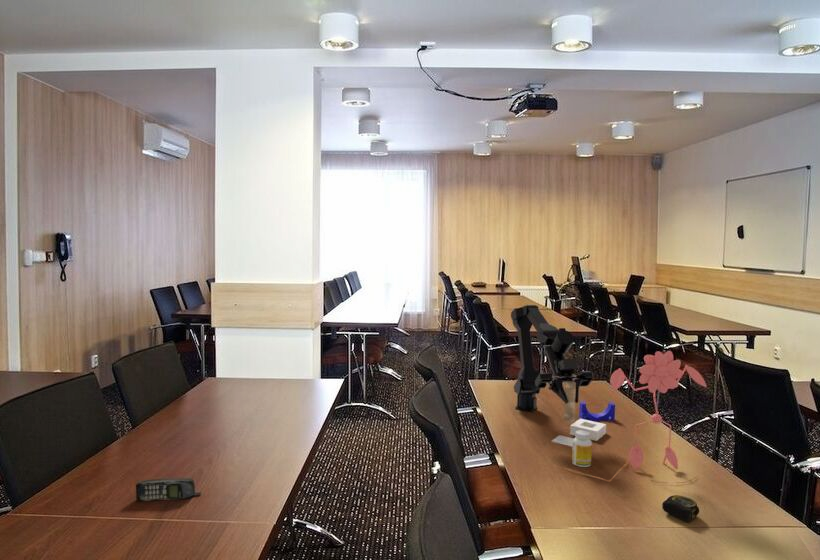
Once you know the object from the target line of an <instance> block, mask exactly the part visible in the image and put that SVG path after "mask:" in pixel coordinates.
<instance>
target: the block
mask: <svg viewBox="0 0 820 560" xmlns="http://www.w3.org/2000/svg"><path fill="white" fill-rule="evenodd" d="M578 430H584V431H588V432H589V433H590V438H589V439H590V440H591V441H596V442H597V441H598V440H600V439H601V438H602V437H603V436H605V435H606V433H607V424H606V423H602V422H599V421H589V420H585V419H580V418H579V419H577V420H575V421H574V422H573V423H572V424H571V425H570V426H569V431H570V432H569V434H570V436H574V437H576V436H575V435H576V431H578Z"/></svg>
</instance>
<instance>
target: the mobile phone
mask: <svg viewBox="0 0 820 560" xmlns="http://www.w3.org/2000/svg"><path fill="white" fill-rule="evenodd" d="M195 485H196V484H195V481H194V480H193V479H192V478H190V477H189V478H188V477H186V478H185V477H173V478H155V479H153V478H152V479H146V480H141V481H139V482H137V483H136V484H135V499H136V501H137V502H152V501H178V500H184V499H187V498H191V497H192V496H201V495H202V492H201V491H200V492H196V491H195V489H196V488H195V487H196V486H195Z"/></svg>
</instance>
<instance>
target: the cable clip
mask: <svg viewBox="0 0 820 560" xmlns="http://www.w3.org/2000/svg"><path fill="white" fill-rule="evenodd" d="M578 413H579V415H578V416H579V417H578V418H579V419H585V420H589V421H594V422H600V421H615V419H616V418H615V417H616V416H615V415H616V404H615V403H614V402H608V404H607V407H606V408H605V409H604V411H602V412H600V413H592V412H590V411H588V409H587V404H586V403H585V401H579V410H578Z"/></svg>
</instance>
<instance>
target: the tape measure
mask: <svg viewBox="0 0 820 560" xmlns="http://www.w3.org/2000/svg"><path fill="white" fill-rule="evenodd" d="M661 504H662V505H661V508H662V510H663V511H664V512H665V513H667V514H670V515H672V516H673V517H677V518H678V519H682V520H683V521H686V522H689V523H690V522H691V521H692V520H695V519H696V518H697V516H698V515H699V513H700V508H699V506H698V504H697V502H696V501H695V500H694V499H692V498H691V497H687V496H685V495H681V494H680V495H679V494H676V495H675V494H674V495H670V496H668V497H667V499H665V500H664V501H663V502H662V503H661Z"/></svg>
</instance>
